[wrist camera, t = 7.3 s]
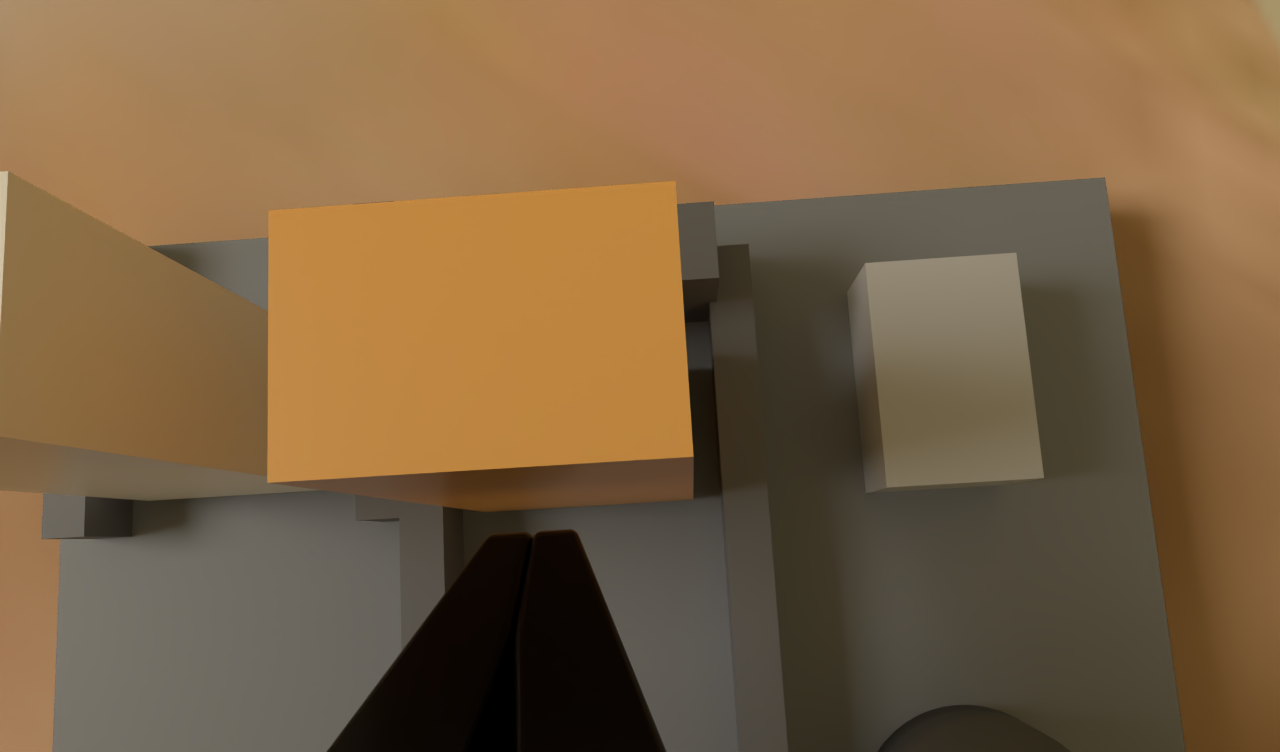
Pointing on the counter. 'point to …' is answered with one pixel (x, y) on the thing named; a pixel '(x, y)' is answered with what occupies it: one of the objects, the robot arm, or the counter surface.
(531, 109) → the counter surface
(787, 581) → the switch panel
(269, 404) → the orange rectangular block
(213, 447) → the beige rectangular block
